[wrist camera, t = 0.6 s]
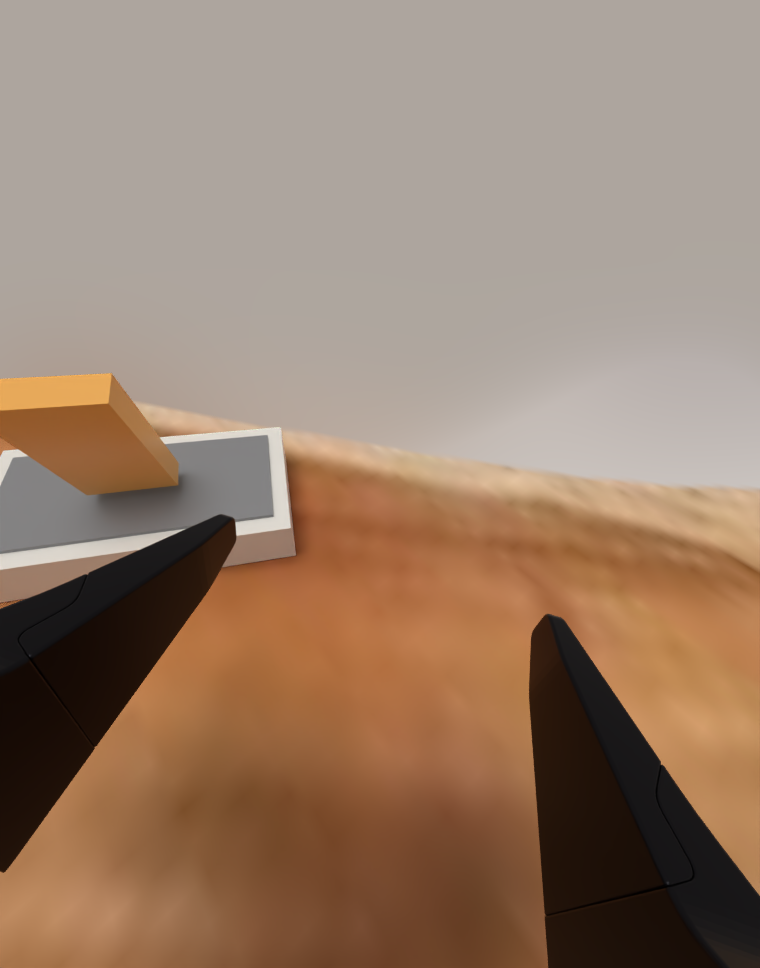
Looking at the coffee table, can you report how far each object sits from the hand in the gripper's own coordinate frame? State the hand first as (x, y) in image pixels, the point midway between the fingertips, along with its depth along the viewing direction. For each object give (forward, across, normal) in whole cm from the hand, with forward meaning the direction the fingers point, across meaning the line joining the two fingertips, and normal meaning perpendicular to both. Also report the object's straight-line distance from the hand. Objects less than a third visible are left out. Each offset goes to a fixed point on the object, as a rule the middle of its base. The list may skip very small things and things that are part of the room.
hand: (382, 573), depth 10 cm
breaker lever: (+8, +16, +8) cm, 20 cm away
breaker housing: (+10, +16, +13) cm, 23 cm away
